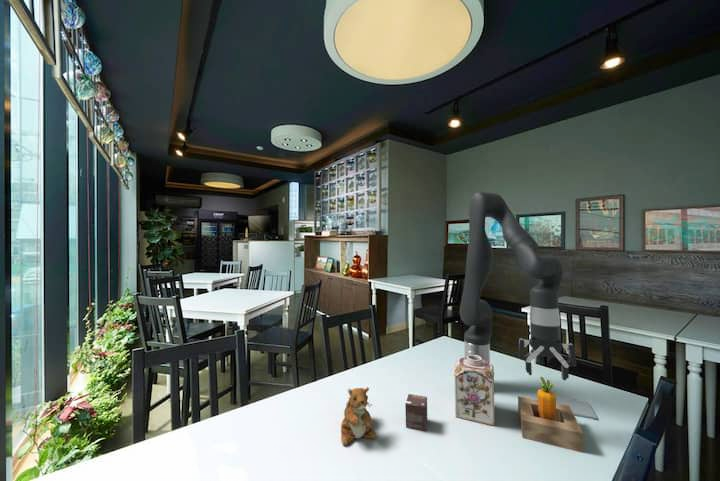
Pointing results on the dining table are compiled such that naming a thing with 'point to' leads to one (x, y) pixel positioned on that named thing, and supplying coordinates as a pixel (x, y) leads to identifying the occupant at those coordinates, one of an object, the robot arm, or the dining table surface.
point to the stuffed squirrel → (356, 417)
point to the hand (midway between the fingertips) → (546, 376)
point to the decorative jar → (474, 389)
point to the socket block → (550, 425)
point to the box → (416, 412)
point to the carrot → (546, 401)
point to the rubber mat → (577, 407)
